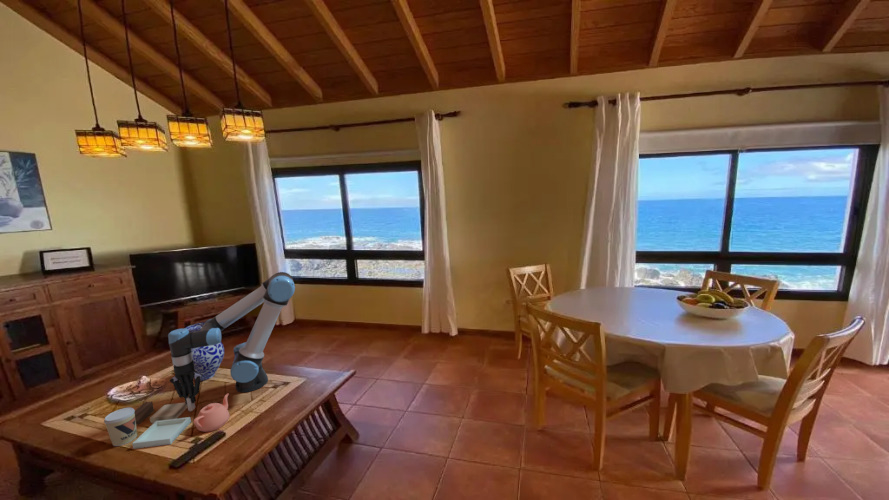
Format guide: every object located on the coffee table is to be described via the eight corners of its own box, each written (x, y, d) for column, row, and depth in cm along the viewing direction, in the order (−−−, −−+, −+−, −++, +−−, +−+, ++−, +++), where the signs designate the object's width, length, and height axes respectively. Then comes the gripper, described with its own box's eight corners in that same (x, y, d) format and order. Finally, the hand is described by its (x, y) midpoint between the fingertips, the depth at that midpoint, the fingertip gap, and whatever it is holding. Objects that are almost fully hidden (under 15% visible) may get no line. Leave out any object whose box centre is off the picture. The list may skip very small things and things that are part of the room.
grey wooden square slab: (188, 407, 167) (187, 402, 166) (175, 421, 157) (173, 415, 156) (165, 410, 165) (164, 404, 165) (151, 424, 156) (149, 418, 155)
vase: (196, 369, 204) (187, 321, 199) (234, 365, 207) (227, 317, 202) (172, 389, 183) (162, 336, 178) (215, 384, 186) (206, 332, 181)
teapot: (185, 435, 146) (181, 415, 145) (221, 409, 163) (218, 390, 162) (208, 438, 143) (204, 418, 142) (242, 411, 161) (239, 393, 159)
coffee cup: (121, 448, 140) (115, 422, 138) (103, 446, 142) (97, 420, 140) (145, 433, 149) (140, 407, 147) (128, 431, 151) (122, 406, 149)
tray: (191, 422, 155) (190, 417, 154) (170, 444, 141) (169, 438, 141) (157, 426, 153) (156, 421, 153) (133, 448, 139) (132, 443, 139)
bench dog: (154, 410, 165) (152, 401, 164) (138, 424, 155) (136, 414, 154) (147, 411, 164) (145, 402, 164) (131, 425, 155) (129, 415, 154)
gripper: (203, 357, 163) (211, 402, 166) (173, 360, 161) (181, 406, 165) (194, 364, 155) (202, 412, 159) (162, 368, 154) (171, 416, 157)
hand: (191, 409), depth 162 cm, fingers closed
